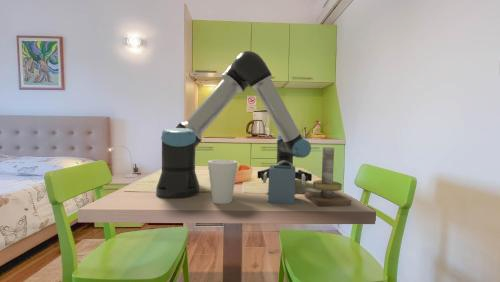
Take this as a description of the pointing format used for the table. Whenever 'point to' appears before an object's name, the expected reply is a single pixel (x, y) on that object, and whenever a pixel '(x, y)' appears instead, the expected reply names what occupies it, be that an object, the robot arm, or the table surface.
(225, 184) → the foam cup
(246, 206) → the table surface
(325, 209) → the table surface
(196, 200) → the table surface
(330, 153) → the post stand
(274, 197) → the sleeve
